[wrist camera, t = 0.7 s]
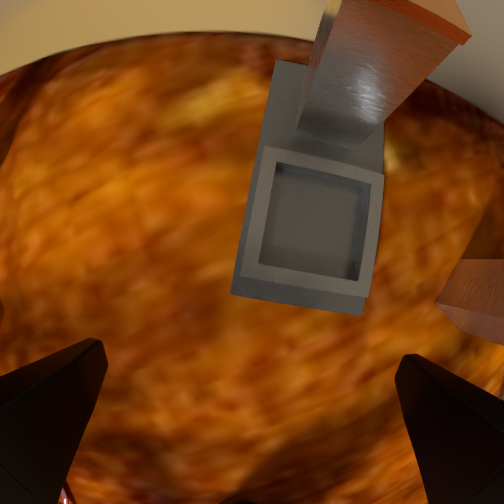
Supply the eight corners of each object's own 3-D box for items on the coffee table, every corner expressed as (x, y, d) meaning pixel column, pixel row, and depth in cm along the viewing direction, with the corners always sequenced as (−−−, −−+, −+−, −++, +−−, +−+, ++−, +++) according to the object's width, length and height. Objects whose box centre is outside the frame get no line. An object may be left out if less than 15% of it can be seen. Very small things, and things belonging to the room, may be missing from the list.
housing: (356, 312, 21) (511, 390, 5) (231, 292, 21) (178, 387, 5) (378, 94, 21) (465, -18, 5) (274, 67, 21) (294, -83, 5)
